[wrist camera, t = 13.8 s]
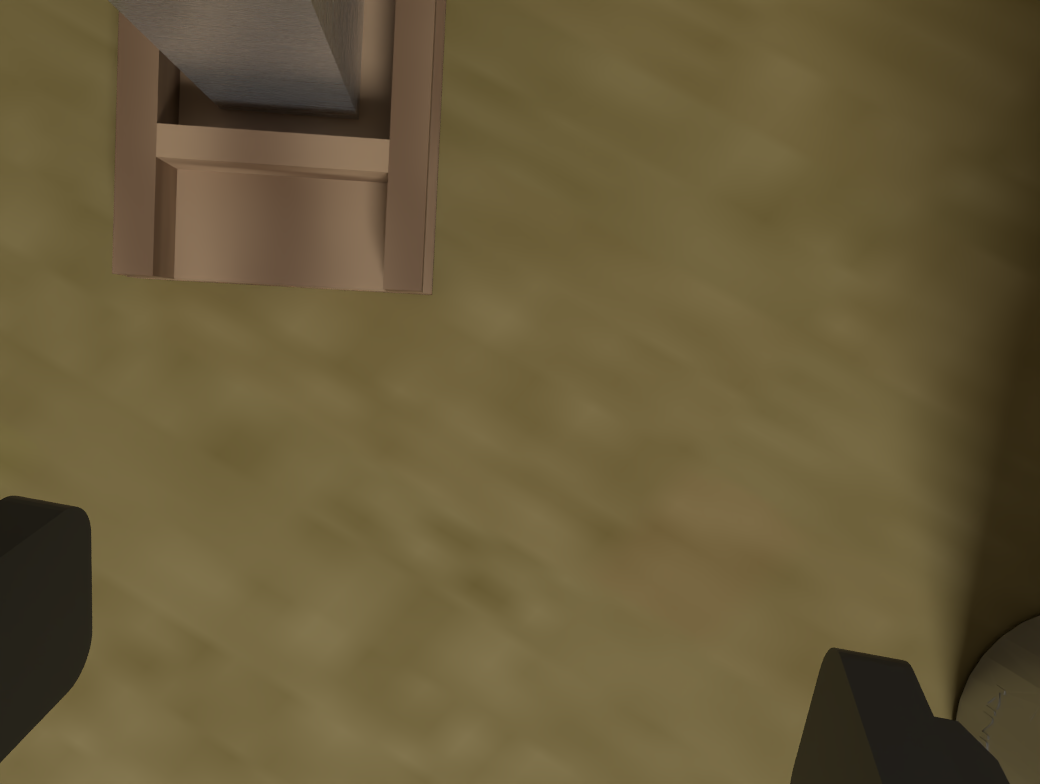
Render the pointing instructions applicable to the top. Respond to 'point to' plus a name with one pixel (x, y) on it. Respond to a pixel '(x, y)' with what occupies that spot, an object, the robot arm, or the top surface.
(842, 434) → the top surface
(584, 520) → the top surface
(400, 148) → the brown wooden slotted rack
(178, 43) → the finger blank
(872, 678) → the robot arm
